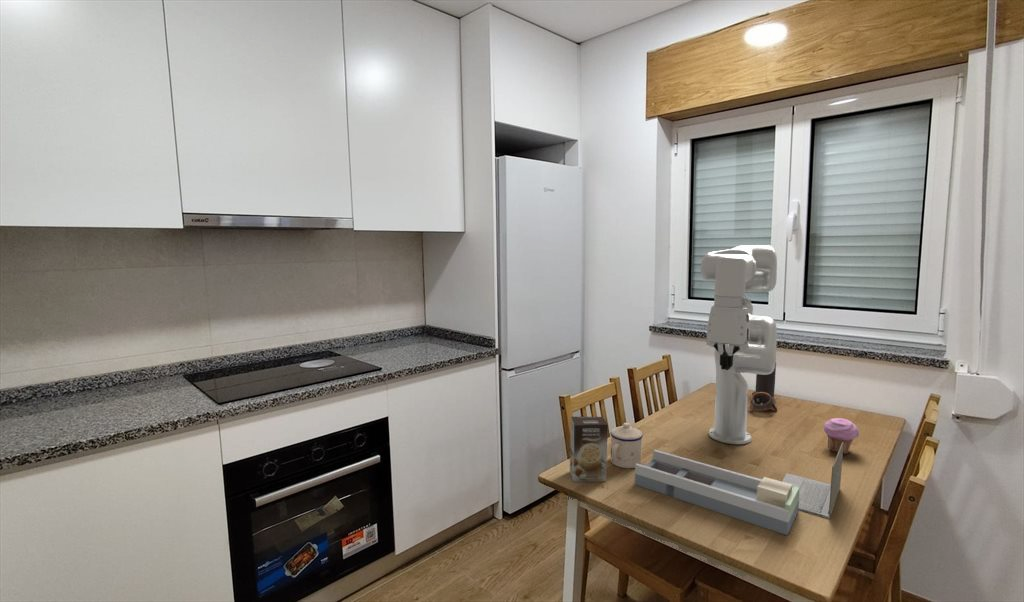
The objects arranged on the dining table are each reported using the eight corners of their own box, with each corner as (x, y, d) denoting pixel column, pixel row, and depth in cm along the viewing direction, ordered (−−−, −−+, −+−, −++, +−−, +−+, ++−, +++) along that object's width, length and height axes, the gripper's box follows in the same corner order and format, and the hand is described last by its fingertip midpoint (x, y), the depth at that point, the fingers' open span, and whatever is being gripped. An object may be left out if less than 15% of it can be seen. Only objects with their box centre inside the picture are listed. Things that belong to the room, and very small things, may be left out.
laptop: (786, 475, 136) (789, 430, 135) (840, 489, 128) (844, 441, 127) (770, 502, 123) (773, 452, 121) (830, 520, 115) (834, 466, 113)
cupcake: (819, 450, 151) (821, 419, 149) (825, 442, 157) (827, 411, 156) (854, 459, 145) (857, 426, 143) (859, 450, 151) (862, 418, 150)
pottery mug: (784, 415, 182) (780, 399, 178) (761, 427, 182) (756, 411, 179) (764, 397, 193) (759, 381, 189) (742, 408, 193) (737, 392, 190)
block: (762, 496, 119) (764, 476, 118) (791, 504, 115) (792, 484, 115) (756, 506, 114) (757, 486, 114) (785, 516, 111) (786, 495, 110)
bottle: (758, 400, 198) (761, 350, 195) (752, 394, 204) (755, 347, 202) (776, 400, 196) (779, 351, 194) (770, 395, 203) (773, 347, 201)
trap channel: (654, 468, 141) (654, 446, 140) (798, 511, 118) (799, 486, 117) (635, 484, 131) (635, 461, 131) (787, 535, 109) (789, 507, 108)
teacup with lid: (619, 452, 151) (620, 415, 149) (647, 461, 145) (648, 423, 143) (598, 466, 142) (599, 427, 140) (627, 476, 136) (628, 435, 134)
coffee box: (573, 482, 133) (573, 425, 131) (569, 471, 139) (569, 416, 137) (607, 481, 133) (608, 424, 131) (602, 470, 139) (602, 415, 137)
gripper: (763, 303, 131) (759, 370, 134) (705, 298, 141) (703, 361, 143) (755, 306, 126) (751, 376, 128) (696, 301, 135) (693, 367, 138)
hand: (726, 368), depth 136 cm, fingers closed
